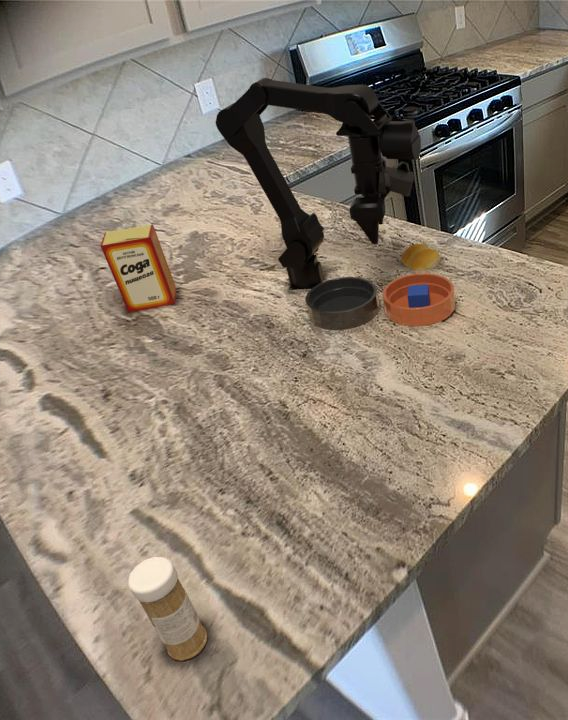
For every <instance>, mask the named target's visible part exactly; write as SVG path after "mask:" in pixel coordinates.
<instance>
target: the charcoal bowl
mask: <svg viewBox="0 0 568 720" xmlns="http://www.w3.org/2000/svg"><path fill="white" fill-rule="evenodd" d="M379 299H380V298H379V293H378V288H377V287H376V284H374V283H373V282H372V281H371V280H369V279H366V278H363V277H359V276H358V277H357V276H341V277H340V276H339V277H335V278H331V279H328V280H324V281H322V283H320V284H318V285H316V286H315V287H313V288H312V289H309V291H308V292H307V293H306V295H305V298H304V300H305V304H306V309H307V313H308V317H309V321H310V322H311V324H313V325H314V326H315V327H318V328H321V329H323V330H331V331H340V330H342V331H343V330H349V329H353V328H357V327H359V326H362V325H365V324H366V323H368V322H370V321H371V320H372V319H374V318H375V317H376V316H377V314H378V313H379V310H380V300H379Z"/></svg>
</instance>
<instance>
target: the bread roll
mask: <svg viewBox="0 0 568 720" xmlns="http://www.w3.org/2000/svg"><path fill="white" fill-rule="evenodd" d="M400 260H401V262H402V264H403V265H404V266H405V267H407V268H408V269H410V270H412V271H414V272H415V271H416V272H419V271H420V272H421V271H428V270H432V269H434V268H437V267H438V266H439V264H440V263H441V255H440V253H439V251H438V250H436V249H433V248H431V247H430V246H428V245H426V244H424V243H415V244H412V245H410V246H408V247H406V248H405V250H404V251H403V252H402V253H401V255H400Z"/></svg>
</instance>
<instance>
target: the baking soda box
mask: <svg viewBox="0 0 568 720" xmlns="http://www.w3.org/2000/svg"><path fill="white" fill-rule="evenodd" d="M159 239H160V238H159V237H158V234H157V231H156V229H155V226H154V224H147V225H141V226H135V227H129V228H124V229H123V228H122V229H117V230H113V231H112V230H111V231H107V232H104V234H103V237H102V240H101V243H100V249H101V251H102V253H103V256H104V258H105V261H106V263H107V265H108V267H109V270H110V272H111V275H112V277H113V279H114V282H115V284H116V287H117V289H118V292H119V293H120V297H121V298H122V301H123V303H124V305H125V308H126V310H127V313H132V312H133V313H134V312H137V311H143V310H148V309H149V310H150V309H153V308H160V307H164V306H169V305H175V304H176V298H177V286H176V284H175V281H174V278H173V275H172V273H171V270H170V268H169V267H170V266H169V264H168V261H167V258H166V256H165V253H164V250H163V248H162V245H161V243H160V240H159Z"/></svg>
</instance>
